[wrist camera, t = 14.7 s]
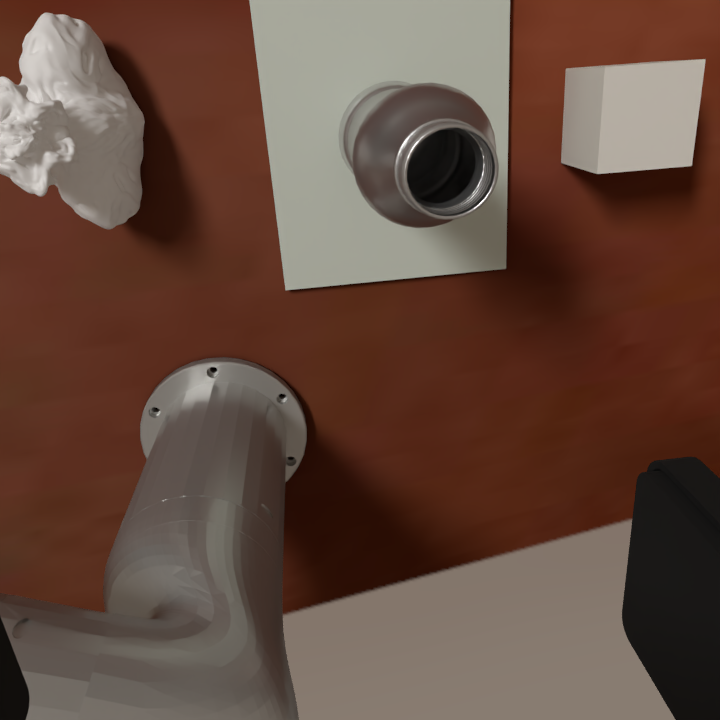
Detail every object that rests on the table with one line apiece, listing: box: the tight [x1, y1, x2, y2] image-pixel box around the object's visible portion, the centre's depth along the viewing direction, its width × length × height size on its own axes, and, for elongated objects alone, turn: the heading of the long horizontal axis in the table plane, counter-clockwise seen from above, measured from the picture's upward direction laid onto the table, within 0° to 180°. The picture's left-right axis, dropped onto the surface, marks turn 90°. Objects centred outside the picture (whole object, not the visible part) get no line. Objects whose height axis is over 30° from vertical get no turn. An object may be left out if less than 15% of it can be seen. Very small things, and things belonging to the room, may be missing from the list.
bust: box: [0, 13, 145, 229], centre depth 38 cm, size 12×8×11 cm
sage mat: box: [249, 0, 510, 290], centre depth 43 cm, size 20×16×1 cm
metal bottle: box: [338, 81, 499, 228], centre depth 34 cm, size 6×7×20 cm
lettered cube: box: [561, 59, 706, 174], centre depth 42 cm, size 6×6×6 cm
